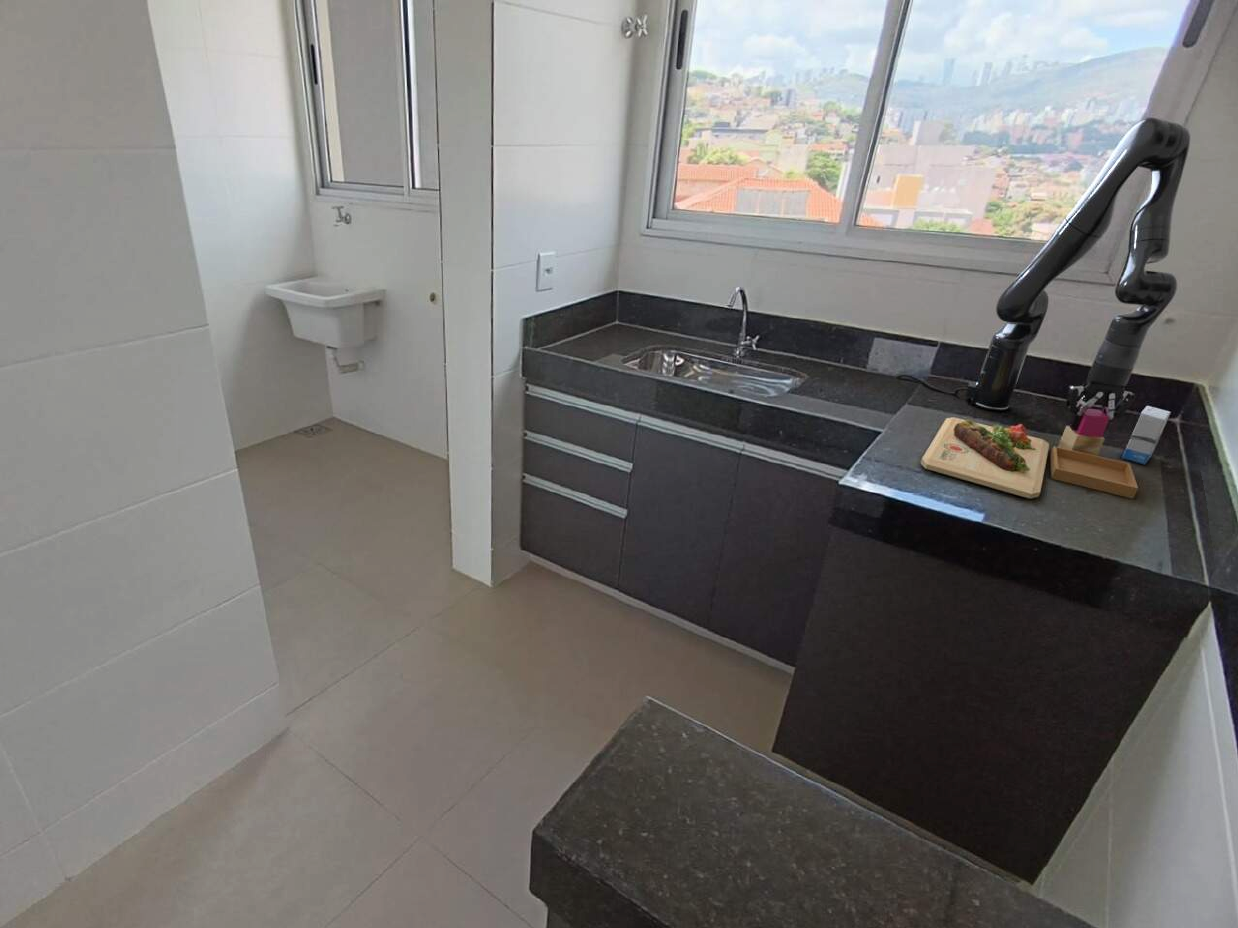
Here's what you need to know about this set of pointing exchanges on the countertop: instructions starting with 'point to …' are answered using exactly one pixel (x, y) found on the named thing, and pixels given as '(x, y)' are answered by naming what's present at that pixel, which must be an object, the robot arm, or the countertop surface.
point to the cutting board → (989, 456)
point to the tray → (1093, 472)
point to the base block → (1080, 442)
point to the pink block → (1093, 423)
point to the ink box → (1146, 434)
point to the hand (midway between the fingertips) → (1085, 430)
